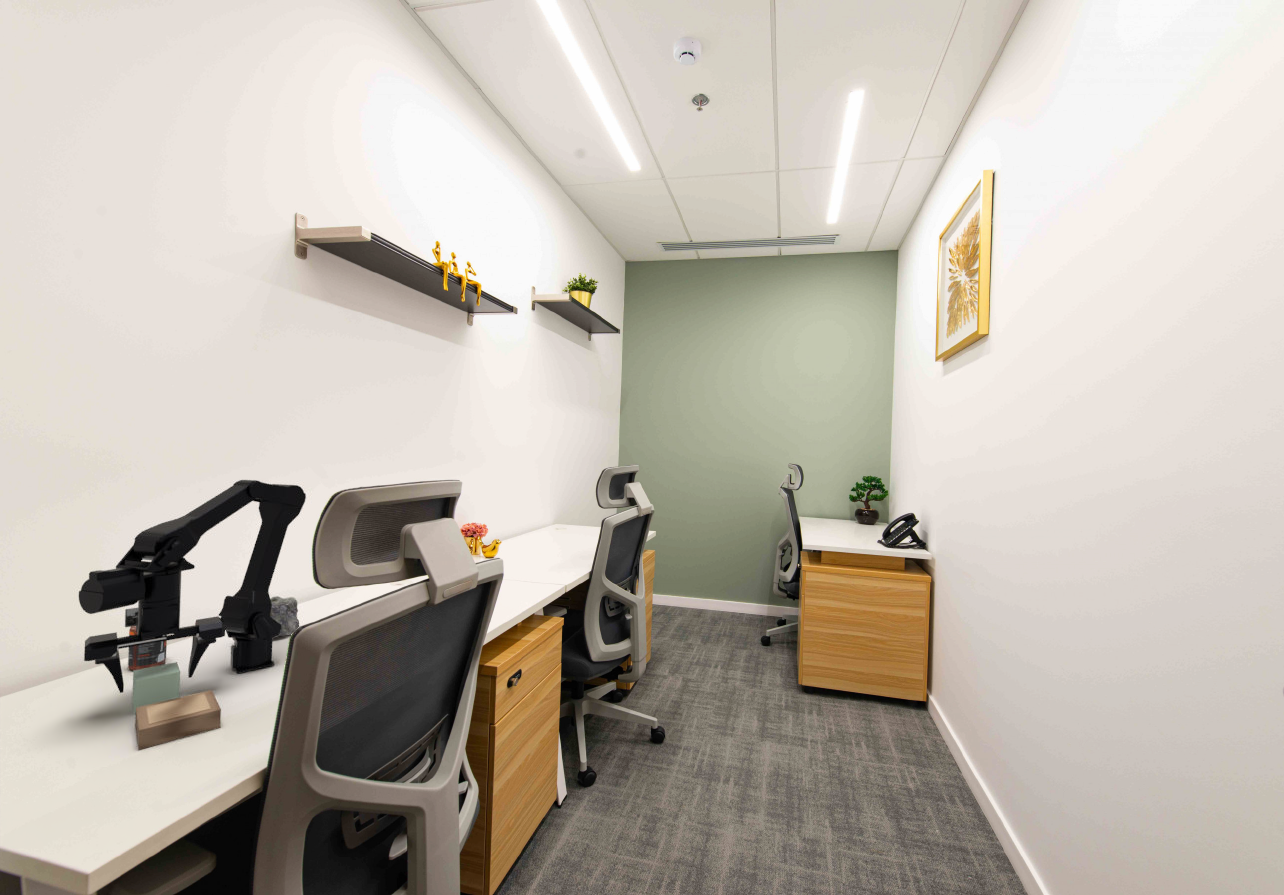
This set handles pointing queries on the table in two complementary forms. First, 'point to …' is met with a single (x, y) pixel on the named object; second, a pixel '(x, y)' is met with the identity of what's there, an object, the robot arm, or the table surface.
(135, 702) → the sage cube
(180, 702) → the walnut base
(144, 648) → the supplement bottle
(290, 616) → the mineral rock
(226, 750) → the table surface
